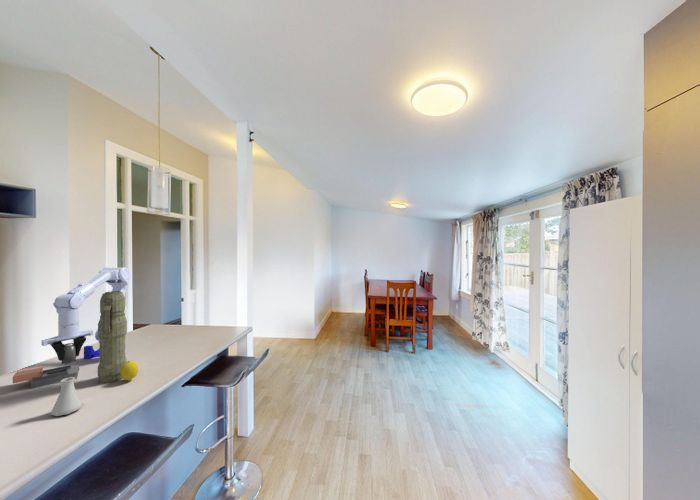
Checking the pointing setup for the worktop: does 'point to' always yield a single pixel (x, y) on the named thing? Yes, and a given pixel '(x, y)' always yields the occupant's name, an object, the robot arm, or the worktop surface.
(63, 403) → the flask
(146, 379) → the worktop surface
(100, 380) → the green stone statue
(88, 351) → the blue notched block
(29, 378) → the orange square block
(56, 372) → the socket plate
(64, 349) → the plug
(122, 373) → the lemon
